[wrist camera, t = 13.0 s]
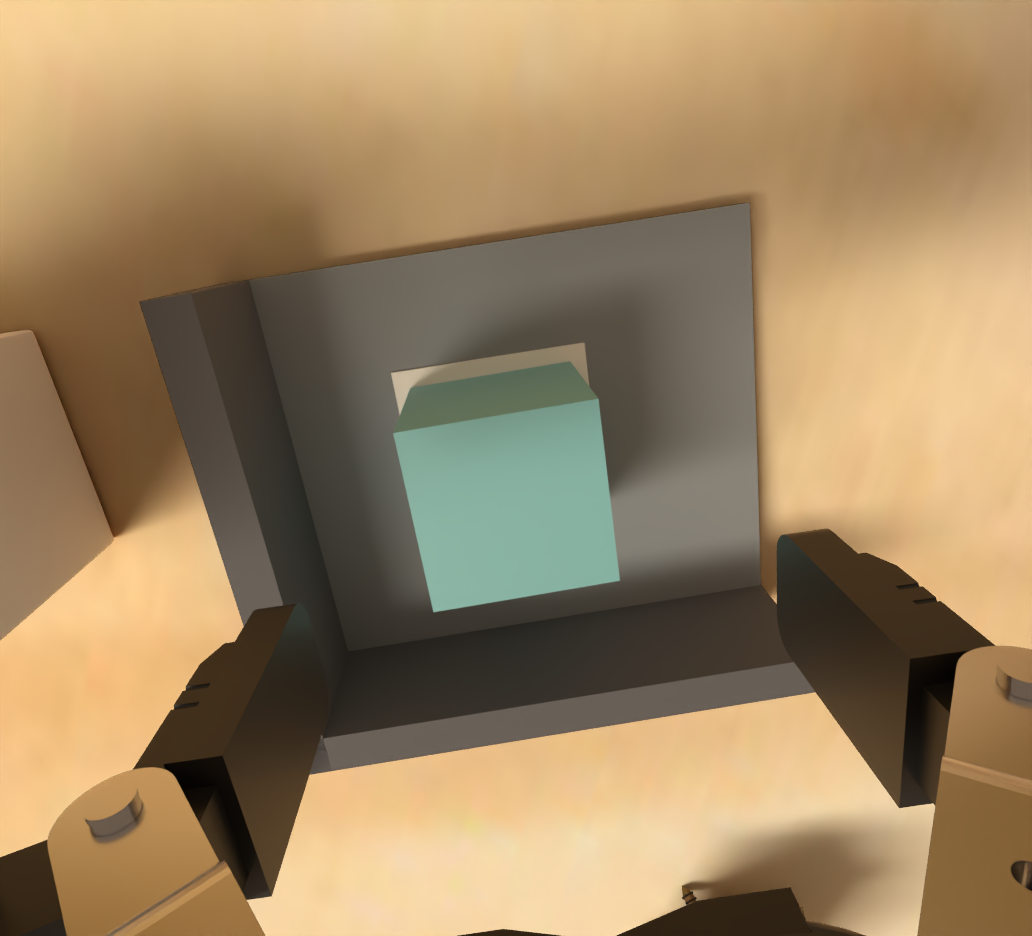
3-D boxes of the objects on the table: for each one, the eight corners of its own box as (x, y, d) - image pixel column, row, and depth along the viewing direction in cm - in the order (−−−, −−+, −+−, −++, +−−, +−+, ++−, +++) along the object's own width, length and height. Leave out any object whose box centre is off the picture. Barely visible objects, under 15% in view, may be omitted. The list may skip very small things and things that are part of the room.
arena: (742, 203, 21) (822, 195, 16) (755, 605, 25) (820, 691, 21) (215, 285, 21) (138, 301, 16) (325, 674, 25) (292, 777, 20)
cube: (570, 361, 21) (598, 398, 17) (589, 508, 23) (619, 580, 18) (410, 387, 21) (393, 432, 16) (441, 533, 23) (433, 612, 18)
